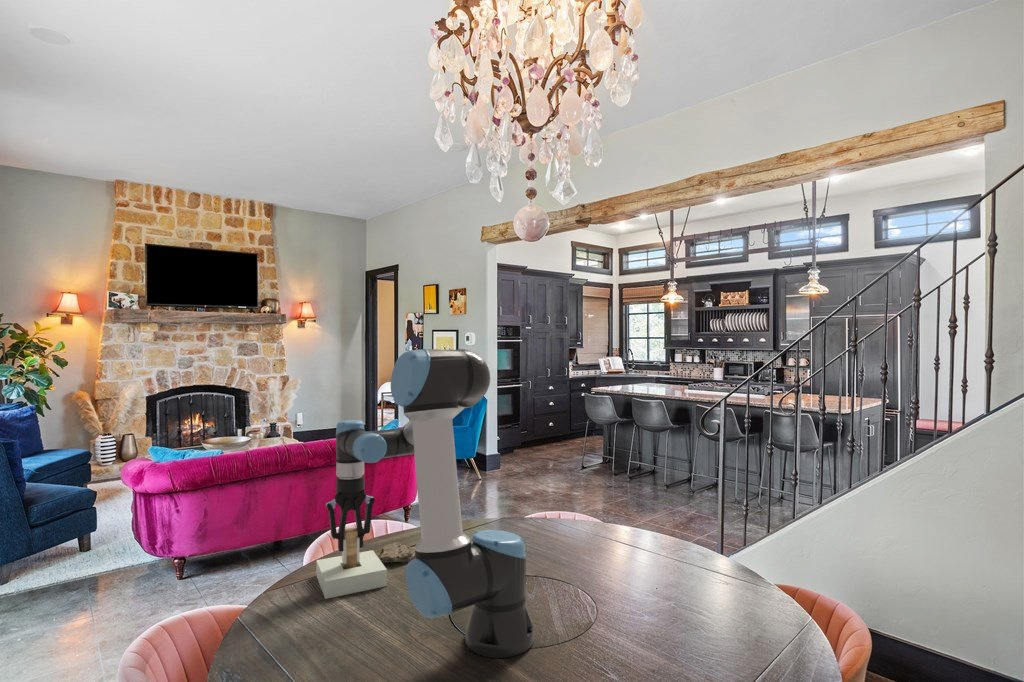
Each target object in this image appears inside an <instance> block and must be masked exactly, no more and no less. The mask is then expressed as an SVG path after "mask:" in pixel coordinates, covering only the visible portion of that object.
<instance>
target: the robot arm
mask: <svg viewBox="0 0 1024 682" xmlns="http://www.w3.org/2000/svg"><path fill="white" fill-rule="evenodd" d="M490 383H491V373H490V368H489V366H488V365H487V363H486V361H485V360H484V359H483V357H482V356H481V355H479V354H477V352H474V351H472V350H468V349H463V348H462V349H461V348H458V349H447V348H446V349H445V348H444V349H438V348H436V349H435V348H432V349H431V348H423V349H413V350H406V351H405V352H403V353H402V354H401V355H399V357H398V358H397V359H396V361H395V364H394V365H393V368H392V372H391V375H390V393H391V397H393V399H392V400H393V401H394V403H395V404H396V405H397V406H399V407H402V408H403V416H405V418H407V419H408V421H407V422H406V424H404V425H403V426H402V427H398V428H389V429H382V430H381V429H379V430H371V431H368V430H367V431H366V430H365V423H364V421H363V420H361V419H346V420H340V421H338V422H337V423H336V430H335V452H336V453H335V454H336V459H335V461H336V464H335V465H336V466H335V467H336V470H335V473H336V477H337V478H336V479H335V480H336V481H335V482H336V483H335V485H336V491H335V492H336V493H335V495H334V498H333V499H332V500H330V501H326V502H325V503H324V504H325V507H326V508H327V511H328V518H329V519H328V520H329V527H330V530H329V531H330V535H331V538H332V539H333V540H335V539H336V540H337V544H338V545H337V549H338V551H339V552H341V556H342V562H343V564H346V540H345V539H344V533H345V529H346V524H347V517H348V514H349V513H348V512H349V511H353V512H354V520H355V526H356V529H358V538H357V562H358V561H360V549H361V548H363V547H364V536H365V535H366V534H369V533H370V532H371V524H372V513H373V506H374V504H375V502H376V499H375V497H374V496H372V495H367V493H366V491H365V476H364V475H365V463H367V464H368V463H369V464H373V463H377V462H379V461H381V460H382V459H388V458H395V457H402V456H408V455H409V456H410V455H414V465H415V477H416V490H417V500H418V501H417V502H418V514H419V526H420V539H419V541H418V542H417V543H416V545H415V546H414V551H415V559H413V560H411V561H410V562H408V563H407V564H406V567H405V571H404V572H405V573H404V575H405V576H404V577H405V585H406V589H407V593H408V595H409V597H410V600H411V601H412V604H413V606H414V607H415V608H416V610H417V611H418V612H419V613H420V614H421V615H422V616H423V617H425V618H428V619H436V618H439V617H443V616H449V615H451V614H452V613H455V612H458V611H461V610H462V609H465V608H468V607H471V606H472V607H471V611H470V613H469V618H468V621H467V624H466V626H465V645H466V647H468V649H469V650H470V651H472V652H473V653H475V654H476V655H480V656H482V657H486V658H492V659H495V658H496V659H503V658H511V657H516V656H518V655H520V654H523V653H525V652H526V651H528V650H529V649H530V648H531V647H532V646H533V644H534V641H535V631H534V630H535V629H534V625H533V621H532V618H531V615H530V613H529V610H528V607H527V601H526V599H527V598H526V594H527V593H526V591H527V589H526V587H527V586H526V571H527V570H526V560H527V555H526V545H525V541H524V539H523V538H522V537H521V536H519V534H516V533H514V532H510V531H506V530H499V529H484V530H483V529H481V530H478V531H475V532H474V533H473V535H472V538H470V537H469V536H467V535H466V534H465V533H464V531H463V521H462V520H463V519H462V511H461V501H460V490H459V481H458V480H459V478H458V468H457V458H456V457H457V456H456V446H455V437H454V436H455V434H454V426H453V425H454V424H453V419H454V418H455V417H456V416H458V415H459V414H460V413H461V412H462V411H464V409H466V408H471V407H473V406H475V405H476V404H477V403H479V402H480V401H481V400H482V399H483V397H484V396H485V395H486V394H487V392H488V390H489V387H490ZM363 503H365V513H364V524H363V522H362V515H361V506H362V504H363ZM336 504H337V506H339V508H340V515H339V523H338V532H337V523H336V516H335V515H336V514H335V513H336V512H335V508H336Z"/></svg>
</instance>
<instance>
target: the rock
mask: <svg viewBox="0 0 1024 682" xmlns="http://www.w3.org/2000/svg"><path fill="white" fill-rule="evenodd" d="M377 557H378V558H379V559H380V561H381V562H382V563H386V564H387V563H389V562H390V563H398V562H404V563H405V562H406V563H407V562H408V563H409V562H410V561H411V560H413V559H415V548H413V547H411V546H409V545H406V544H402V543H400V542H398V541H396V542H395V541H394V542H392V543H390V544H385V545H384V546H382V548H381V551H380V553H379V555H377Z"/></svg>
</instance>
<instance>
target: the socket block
mask: <svg viewBox="0 0 1024 682" xmlns="http://www.w3.org/2000/svg"><path fill="white" fill-rule="evenodd" d="M315 569H316V570H315V571H316V578H317V581H318V585H319V586H320V588H321V592H322V594H323V597H324V600H327V599H331V598H337V597H341V596H346V595H351V594H355V593H359V592H360V593H361V592H366V591H370V590H374V589H379V588H382V587H383V588H384V587H387V586H388V580H387V579H388V573H387V572H388V570H387V568H386V566H385V565H384V562H381V561H380V559H379V558H378V555H377V554H376V553H375V551H374V549H373V550H367V551H361V552H360V561H358V567H355V568H349V569H344V570H343V562H342V555H339V556H334V557H328V558H322V559H316V568H315Z"/></svg>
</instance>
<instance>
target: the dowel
mask: <svg viewBox="0 0 1024 682" xmlns="http://www.w3.org/2000/svg"><path fill="white" fill-rule="evenodd" d="M357 538H358V529H357V527H356V528H354V527H352V528H345V533H344V539H345V540H346V564H343V570H344V569H349V568H355V567H358V562H357Z"/></svg>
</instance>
